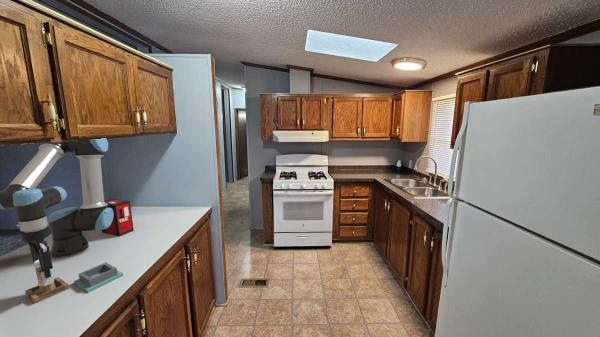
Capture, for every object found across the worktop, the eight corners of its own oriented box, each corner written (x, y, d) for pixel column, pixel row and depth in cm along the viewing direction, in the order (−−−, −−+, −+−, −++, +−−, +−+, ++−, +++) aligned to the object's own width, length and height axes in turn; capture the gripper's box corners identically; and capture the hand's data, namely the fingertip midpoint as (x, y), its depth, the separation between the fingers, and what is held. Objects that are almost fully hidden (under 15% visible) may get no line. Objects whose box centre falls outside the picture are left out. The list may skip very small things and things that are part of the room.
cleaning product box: (101, 232, 154) (97, 202, 151) (116, 227, 163) (112, 198, 159) (119, 236, 149) (115, 205, 145) (133, 230, 157) (129, 201, 153)
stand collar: (25, 295, 98) (24, 290, 97) (59, 281, 106) (58, 277, 106) (35, 303, 93) (34, 298, 93) (69, 288, 102) (68, 283, 101)
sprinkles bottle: (40, 295, 97) (33, 264, 94) (40, 290, 100) (33, 260, 97) (56, 290, 100) (49, 260, 97) (55, 285, 103) (49, 256, 100)
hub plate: (74, 283, 105) (72, 274, 104) (108, 267, 116) (107, 260, 115) (88, 292, 99) (86, 283, 98) (123, 275, 110) (122, 267, 109)
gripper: (13, 227, 96) (25, 281, 100) (28, 237, 87) (41, 294, 92) (39, 221, 102) (50, 271, 106) (56, 229, 94) (67, 283, 98)
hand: (46, 282), depth 99 cm, fingers closed on sprinkles bottle, 4 cm apart
